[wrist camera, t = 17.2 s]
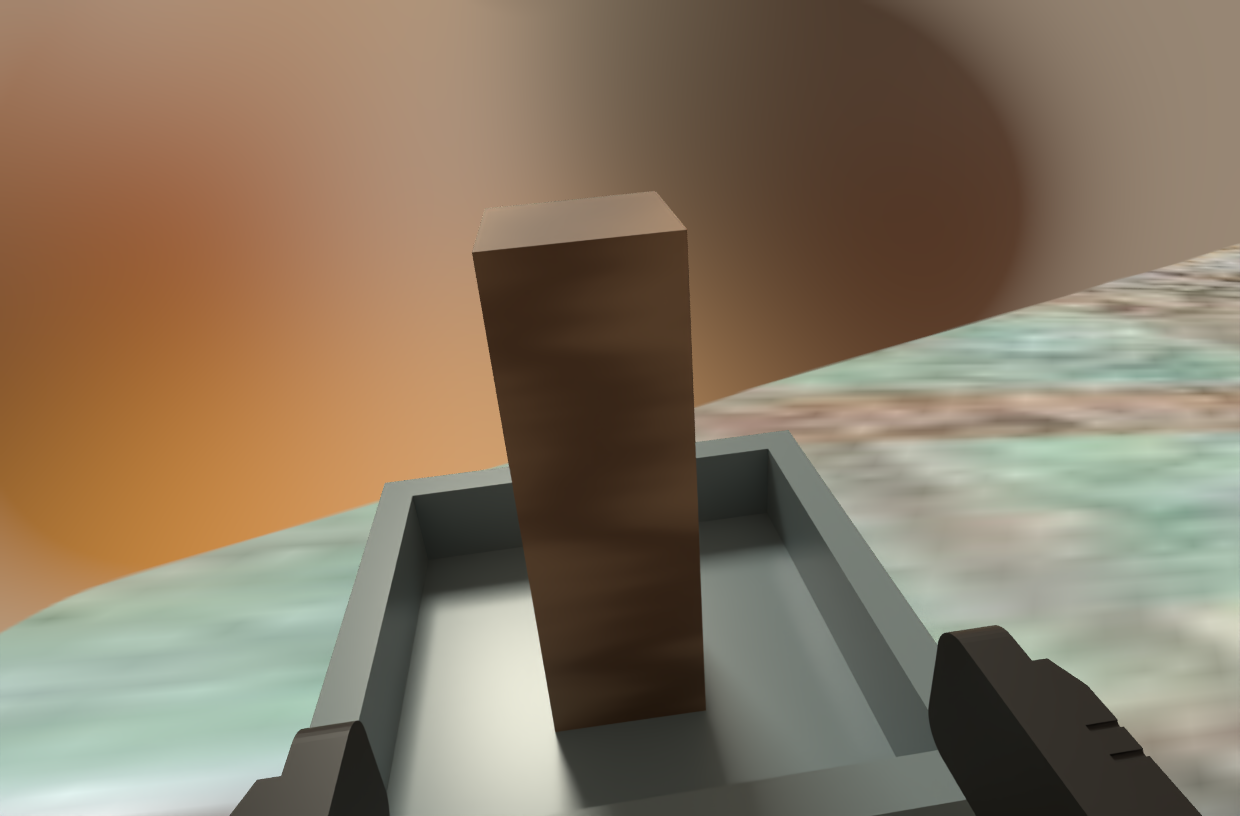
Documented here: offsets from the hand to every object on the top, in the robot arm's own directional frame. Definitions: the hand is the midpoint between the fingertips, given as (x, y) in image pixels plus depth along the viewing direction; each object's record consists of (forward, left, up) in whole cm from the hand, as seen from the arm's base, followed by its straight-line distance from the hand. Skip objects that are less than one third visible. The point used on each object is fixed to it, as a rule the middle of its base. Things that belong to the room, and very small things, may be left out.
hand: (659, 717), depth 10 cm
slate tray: (0, -10, -10) cm, 14 cm away
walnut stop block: (0, -10, -9) cm, 14 cm away
